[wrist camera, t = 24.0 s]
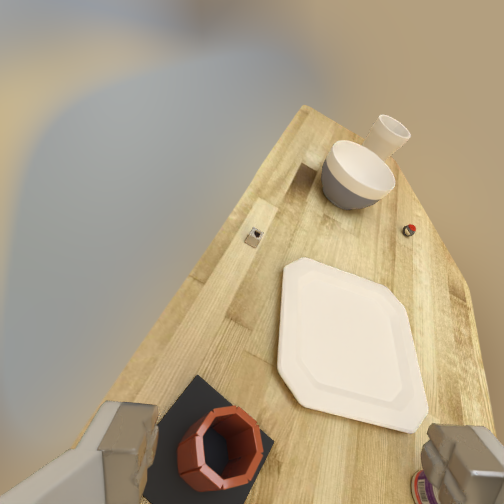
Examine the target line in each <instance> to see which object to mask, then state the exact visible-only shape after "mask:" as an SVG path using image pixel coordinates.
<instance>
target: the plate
mask: <svg viewBox="0 0 504 504" xmlns="http://www.w3.org/2000/svg"><path fill="white" fill-rule="evenodd" d="M277 370H278V373H279V375H280V376H281V378H282V379H283V381H284V382H285V383H286V385H287V386H288V388H289V389H290V391H291V392H292V394H293V395H294V397H295V398H296V400H297V401H298V403H299V404H301V405H302V406H303V407H305V408H309V409H313V410H317V411H321V412H325V413H329V414H333V415H337V416H341V417H345V418H349V419H353V420H357V421H361V422H365V423H369V424H373V425H377V426H381V427H385V428H389V429H393V430H397V431H401V432H405V433H409V434H412V433H415V432H416V431H417V429H418V428H419V426H420V425H421V423H422V421H423V420H424V418H425V417H426V415H427V414H428V403H427V399H426V395H425V390H424V386H423V381H422V377H421V373H420V368H419V364H418V360H417V355H416V351H415V346H414V342H413V338H412V333H411V329H410V325H409V320H408V316H407V311H406V309H405V307H404V306H403V305H402V304H401V303H400V301H399V300H398V299H397V298H396V297H395V296H394V295H393V293H392V292H391V291H390V290H389V289H388V288H387V287H385V286H384V285H381V284H378V283H376V282H373V281H370V280H367V279H365V278H362V277H359V276H356V275H354V274H351V273H348V272H345V271H343V270H340V269H337V268H334V267H332V266H329V265H326V264H323V263H321V262H318V261H315V260H312V259H310V258H307V257H302V258H300V259H298V260H296V261H294V262H292V263H290V264H288V265H286V266H285V267H284V268H283V280H282V295H281V311H280V326H279V341H278V356H277Z"/></svg>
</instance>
